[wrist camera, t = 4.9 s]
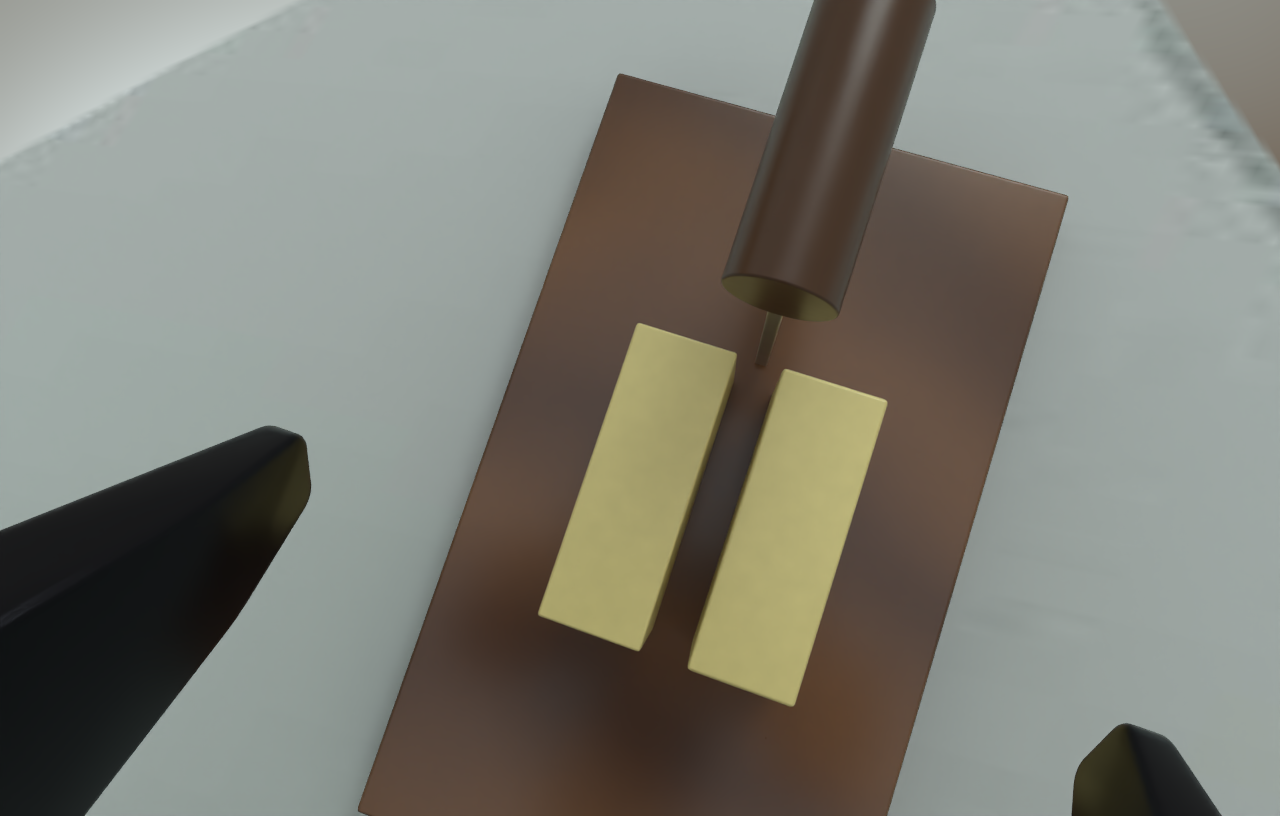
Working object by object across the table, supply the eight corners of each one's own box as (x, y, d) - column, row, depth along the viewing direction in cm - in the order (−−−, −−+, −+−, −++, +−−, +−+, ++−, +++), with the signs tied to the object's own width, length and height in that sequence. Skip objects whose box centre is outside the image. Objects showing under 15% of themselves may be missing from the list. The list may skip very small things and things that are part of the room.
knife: (796, 386, 21) (847, 302, 13) (718, 362, 21) (720, 264, 13) (862, 181, 21) (950, -25, 13) (785, 159, 22) (827, -56, 14)
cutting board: (824, 971, 21) (832, 1005, 19) (379, 792, 22) (355, 811, 21) (1047, 216, 23) (1070, 195, 21) (624, 98, 24) (618, 71, 23)
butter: (781, 676, 20) (793, 708, 17) (566, 599, 21) (536, 615, 18) (860, 419, 21) (889, 399, 17) (649, 353, 22) (637, 321, 18)
